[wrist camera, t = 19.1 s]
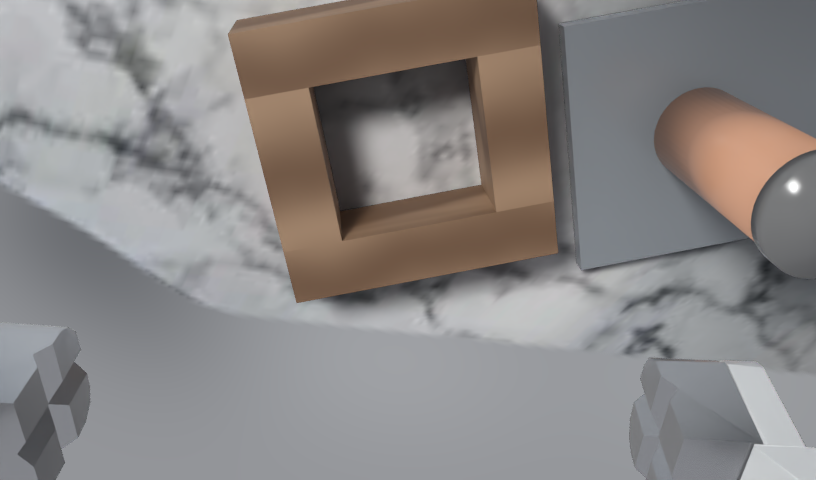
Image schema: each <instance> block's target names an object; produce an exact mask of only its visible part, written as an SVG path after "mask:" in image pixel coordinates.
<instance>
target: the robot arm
mask: <svg viewBox="0 0 816 480" xmlns="http://www.w3.org/2000/svg"><path fill="white" fill-rule="evenodd" d="M80 351H81V348H80V344H79V341H78V337H77V334H76V331H74V330H72V329H71V328H69V327H58V326H45V325H32V324H17V323H5V322H1V323H0V480H56V478H57V476H58V474H59V473H60V471H61V469H62V467H63V465H64V463H65V461H64V458H63V454H62V450H61V449H62V448H64V447H65V446H66V445H68V444H69V443H71V442H73V441H74V440H75V439H77V438H78V437H79V435H80V433H81V431H82V428H83V427H84V425H85V423H86V419H87V414H88V410H89V405H90V385H89V380H88V376H87V373H86V372H85V371H84V370H83V369H82V368H81V367H79V366H78V365H77V364H76V363H75V362H74V361H75V359H76V357H77V356H78V354H79V352H80ZM640 379H641V383H642V386H643V389H644V393H645V394H644V395H642V396H641V397H640V398H639V399H637V400H636V401H635V402H634V404H633V409H632V413H631V418H630V432H629V440H630V448H631V454H632V458H633V462H634V466H635V468H636V469H637V470H638V471H639V472H640V473H641V474H643V476H645V477H646V480H816V448H813V447H806V445H805V444H804V442H803V440H802V438H801V436H800V434H799V432H798V431H797V429H796V427H795V425H794V423H793V421H792V419H791V418H790V416H789V414H788V412H787V410H786V408H785V406H784V405H783V403H782V401H781V399H780V397H779V395H778V394H777V392H776V390H775V388H774V386H773V384H772V382H771V381H770V379H769V377H768V375H767V373H766V371H765V370H764V368H763V366H762V365H761V364H759V363H758V362H757V361H734V360H720V361H712V360H690V359H668V358H648V360H647V361H646V363H645V365H644V367H643V371H642V375H641V378H640Z"/></svg>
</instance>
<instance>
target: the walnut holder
mask: <svg viewBox="0 0 816 480" xmlns="http://www.w3.org/2000/svg"><path fill="white" fill-rule="evenodd" d="M228 37H229V41H230V44H231V48H232V52H233V56H234V60H235V64H236V68H237V72H238V76H239V80H240V84H241V87H242V91H243V95H244V99H245V103H246V107H247V111H248V115H249V119H250V123H251V126H252V130H253V134H254V138H255V142H256V146H257V150H258V154H259V158H260V162H261V166H262V169H263V173H264V177H265V181H266V185H267V189H268V193H269V197H270V201H271V205H272V208H273V212H274V216H275V220H276V224H277V228H278V232H279V236H280V240H281V244H282V247H283V251H284V255H285V259H286V263H287V267H288V271H289V275H290V279H291V283H292V287H293V290H294V294H295V298H296V302H297V303H299V302H305V301H310V300H315V299H320V298H326V297H331V296H336V295H341V294H347V293H352V292H357V291H362V290H368V289H373V288H378V287H383V286H389V285H394V284H399V283H404V282H410V281H415V280H420V279H425V278H430V277H436V276H441V275H446V274H451V273H457V272H462V271H467V270H472V269H478V268H483V267H488V266H493V265H499V264H504V263H509V262H514V261H520V260H525V259H530V258H535V257H541V256H546V255H551V254H556V253H558V245H557V233H556V221H555V210H554V198H553V186H552V174H551V163H550V151H549V139H548V127H547V116H546V104H545V92H544V81H543V69H542V57H541V45H540V34H539V22H538V10H537V0H346V1H340V2H335V3H329V4H324V5H318V6H313V7H307V8H302V9H296V10H291V11H285V12H280V13H274V14H269V15H263V16H258V17H252V18H247V19H241V20H237V21H236V22H235V24H234V25H233V27H232V29H231V30H230V32H229V33H228ZM462 59H466V66H467V74H468V82H469V90H470V98H471V105H472V113H473V121H474V129H475V137H476V145H477V152H478V160H479V168H480V176H481V184H482V185H478V186H472V187H467V188H462V189H456V190H451V191H446V192H440V193H435V194H430V195H424V196H419V197H414V198H409V199H403V200H398V201H393V202H387V203H382V204H377V205H371V206H366V207H361V208H355V209H350V210H345V211H340V208H339V203H338V198H337V194H336V189H335V185H334V180H333V175H332V171H331V166H330V161H329V157H328V152H327V147H326V143H325V138H324V133H323V129H322V124H321V120H320V115H319V110H318V106H317V101H316V96H315V92H314V87H315V86H320V85H326V84H331V83H337V82H342V81H348V80H353V79H358V78H364V77H369V76H375V75H380V74H386V73H391V72H397V71H402V70H407V69H413V68H418V67H424V66H429V65H435V64H440V63H446V62H451V61H456V60H462Z"/></svg>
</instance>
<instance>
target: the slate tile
mask: <svg viewBox="0 0 816 480" xmlns="http://www.w3.org/2000/svg"><path fill="white" fill-rule="evenodd" d="M559 37H560V50H561V63H562V77H563V90H564V104H565V117H566V131H567V144H568V158H569V171H570V185H571V198H572V211H573V225H574V238H575V252H576V263H577V264H578V266H579V267H580V269H581V270H585V269H590V268H596V267H601V266H606V265H611V264H616V263H622V262H627V261H632V260H637V259H643V258H648V257H653V256H658V255H663V254H669V253H674V252H679V251H684V250H690V249H695V248H700V247H705V246H710V245H716V244H721V243H726V242H731V241H736V240H742V239H747V238H749V237H748V236H747V235H746V234H745V233H743V232H742V231H741V230H740V229H739V228H737V227H736V226H735V225H734V224H733V223H731V222H730V221H729V220H728V219H727V218H725V217H724V216H723V215H722V214H721V213H719V212H718V211H717V210H716V209H715V208H713V207H712V206H711V205H710V204H709V203H708V202H706V201H705V200H704V199H703V198H702V197H700V196H699V195H698V194H697V193H696V192H694V191H693V190H692V189H691V188H690V187H688V186H687V185H686V184H685V183H684V182H682V181H681V180H680V179H679V178H678V177H676V176H675V175H674V174H673V173H672V172H670V171H669V170H668V169H667V168H666V167H665V166H664V165H663V164H662V163H661V162H660V160H659V158H658V157H657V154H656V151H655V147H654V134H655V129H656V125H657V123H658V120H659V118H660V116H661V115H662V113H663V112H664V110H665V109H666V108H667V106H668V105H669V104H670V103H671V102H672V101H674V100H675V99H676V98H677V97H679V96H680V95H682V94H684V93H686V92H688V91H691V90H693V89H697V88H704V87H711V88H717V89H720V90H723V91H725V92H727V93H729V94H731V95H733V96H735V97H737V98H739V99H740V100H742V101H744V102H746V103H748V104H750V105H752V106H754V107H756V108H758V109H760V110H762V111H763V112H765V113H767V114H769V115H771V116H773V117H775V118H777V119H779V120H781V121H783V122H785V123H787V124H788V125H790V126H792V127H794V128H796V129H798V130H800V131H802V132H804V133H806V134H808V135H810V136H812V137H813V138H815V139H816V0H685V1H679V2H674V3H668V4H663V5H657V6H652V7H647V8H641V9H636V10H630V11H625V12H619V13H614V14H608V15H603V16H597V17H592V18H587V19H581V20H576V21H570V22H565V23H559Z"/></svg>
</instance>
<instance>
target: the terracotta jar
mask: <svg viewBox="0 0 816 480" xmlns="http://www.w3.org/2000/svg"><path fill="white" fill-rule="evenodd" d="M654 147H655V151H656V154H657V157H658V158H659V160H660V162H661V163H662V164H663V165H664V166H665V167H666V168H667V169H668V170H669V171H670V172H672V173H673V174H674V175H675V176H676V177H678V178H679V179H680V180H681V181H682V182H684V183H685V184H686V185H687V186H688V187H690V188H691V189H692V190H693V191H694V192H696V193H697V194H698V195H699V196H700V197H702V198H703V199H704V200H705V201H706V202H708V203H709V204H710V205H711V206H712V207H713V208H715V209H716V210H717V211H718V212H719V213H721V214H722V215H723V216H724V217H725V218H727V219H728V220H729V221H730V222H731V223H733V224H734V225H735V226H736V227H737V228H739V229H740V230H741V231H742V232H743V233H745V234H746V235H747V236H748V237H749V238H751V239H752V240H753V241H754V242H755V245H756V246H757V248H758V250H759V251H760V252H761V253H762V255H763V256H765V257H766V258H767V259H768V260H769V261H770V262H772V263H773V264H774V265H775V266H776V267H777V268H779V269H780V270H781V271H783V272H784V273H786V274H788V275H791V276H793V277H797V278H803V279H816V139H815V138H813V137H812V136H810V135H808V134H806V133H804V132H802V131H800V130H798V129H796V128H794V127H792V126H790V125H788V124H787V123H785V122H783V121H781V120H779V119H777V118H775V117H773V116H771V115H769V114H767V113H765V112H763V111H762V110H760V109H758V108H756V107H754V106H752V105H750V104H748V103H746V102H744V101H742V100H740V99H739V98H737V97H735V96H733V95H731V94H729V93H727V92H725V91H723V90H720V89H717V88H711V87H704V88H697V89H693V90H691V91H688V92H686V93H684V94H682V95H680V96H679V97H677V98H676V99H675V100H674V101H672V102H671V103H670V104H669V105H668V106H667V108H666V109H665V110H664V112H663V113H662V115H661V116H660V118H659V120H658V123H657V125H656V129H655V134H654Z"/></svg>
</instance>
